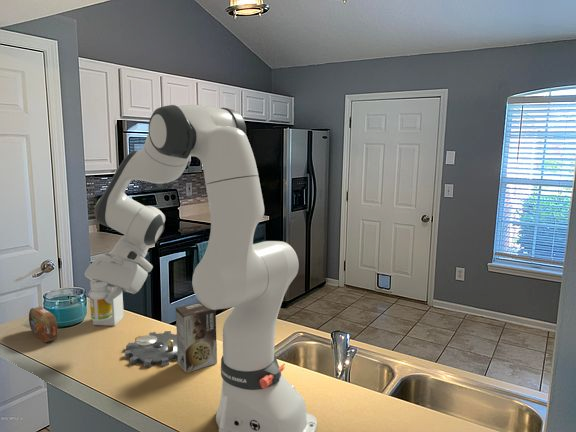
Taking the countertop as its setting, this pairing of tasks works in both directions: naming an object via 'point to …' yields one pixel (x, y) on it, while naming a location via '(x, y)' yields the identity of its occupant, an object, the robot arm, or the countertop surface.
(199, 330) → the coffee box
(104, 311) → the supplement bottle
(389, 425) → the countertop surface
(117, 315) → the milk carton
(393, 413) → the countertop surface
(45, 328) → the tin
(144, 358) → the sprocket
